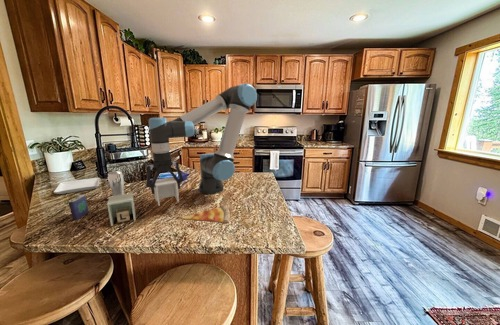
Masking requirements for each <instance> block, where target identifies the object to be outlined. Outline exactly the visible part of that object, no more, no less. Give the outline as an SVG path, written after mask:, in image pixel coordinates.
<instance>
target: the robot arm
mask: <svg viewBox="0 0 500 325" xmlns="http://www.w3.org/2000/svg"><path fill="white" fill-rule="evenodd" d="M257 100H258V93H257V90H256V88H255V87H254V86H253V85H252V84H250V83H241V84H238V85H235V86H230V87H229V88H227V89H225V90H224V91H222V92H220V93H219V94H217V95H216V96H215V98H213V99H211V100H209V101H208V102H205V103H203V104H202V105H200V106H198V107H195V108H194V109H191V110H190V111H188V112H187V113H185V114H182V115H181V116H179V117H177V118H175V119H173V120H169V121H168V120H167V118H166V117H150V118H148V130H149V137H150V144H151V150H152V151H151V152H153V153H152V159H153V164H147V165H146V168H147V169H146V170H147V174H146V182H145V185H146V188H150V191H151V194H152V195H154V199H155V202H157V201H158V200H157V193H156V187H155V183H156V180H157V179H159V175H160V173H164V172H169V173H170V175H171V177H174V179H175V180H176V181H177V189H178V190H180V189H181V183H182V182H184V177H183V175H182V172H181V169H180V166H179V165H180V163H179V162H178V161H172V155H171V152H170V151H171V147H170V139H175V138H189V137H193V136H194V135H195V126H196V125H197V124H200V123H201V122H203V121H205V120H207V119H208V118H210V117H212V116H214V115H215V114H217V113H219V112H221V111H226V110H228V109H230V110H229V114H228V116H227V120H226V124H225V126H224V128H223V129H224V130H223V133H222V136H221V140H220V142H219V146H218V149H217V151H215V152H211V153H210V152H209V153H202V154H200V156H199V164H200V165H199V167H200V182H199V185H198V192H199V193H201V194H204V195H215V194H218V193H220V192H223V191H224V184H223V181H228V180H229V179H231V178H232V177H233V176H234V174H235V171H236V167H235V164H234V161H235V156H234V152H235V150H236V145H237V143H238V139H239V136H240V134H241V129H242V127H243V124H244V119H245V116H246V114H248V113H250V109H251V107H252V106H254V105H255V104H256V103H257ZM172 166H173V167H174V168H175V170H176V173H177V174H178V177H177V176H176V174H175V173H174V171H173V170H172V169H171V168H172ZM153 168H154V169H155V173H154V176H153V178H152V180H151V176H152V170H153ZM150 182H151V183H150ZM179 196H180V194H179V191H178V197H179Z"/></svg>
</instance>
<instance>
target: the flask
mask: <svg viewBox="0 0 500 325" xmlns="http://www.w3.org/2000/svg"><path fill="white" fill-rule="evenodd" d="M68 206H69V209H70V214H71V218H72V221H73V222H75V221H78V220H80V219H82V218H83V217H85V216H86V215H87V214H88V213H89V212H90V211H89V207H88V202H87V197H86V194H80V193H79V194H77V193H76V194H75V197H74V198H73V199H70V200H69V201H68Z"/></svg>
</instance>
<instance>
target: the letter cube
mask: <svg viewBox="0 0 500 325" xmlns="http://www.w3.org/2000/svg"><path fill="white" fill-rule="evenodd" d="M116 214H117V217H116V220H117V223H123V222H127V221H130V220H131V214H130V212H129V207H126V208H121V209H117V212H116Z"/></svg>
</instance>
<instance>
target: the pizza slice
mask: <svg viewBox="0 0 500 325" xmlns="http://www.w3.org/2000/svg"><path fill="white" fill-rule="evenodd" d="M229 209H230V208H228V207H227V205H225V204H224V203H222V204H220V206H218V207H214V208H211V209H207V210H204V211H200V212H197V213H194V214H190V215H187V216H184V217H180V220H187V221H200V222H201V221H202V222H211V223H225V224H229V222H230V220H231V212H230V210H229Z"/></svg>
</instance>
